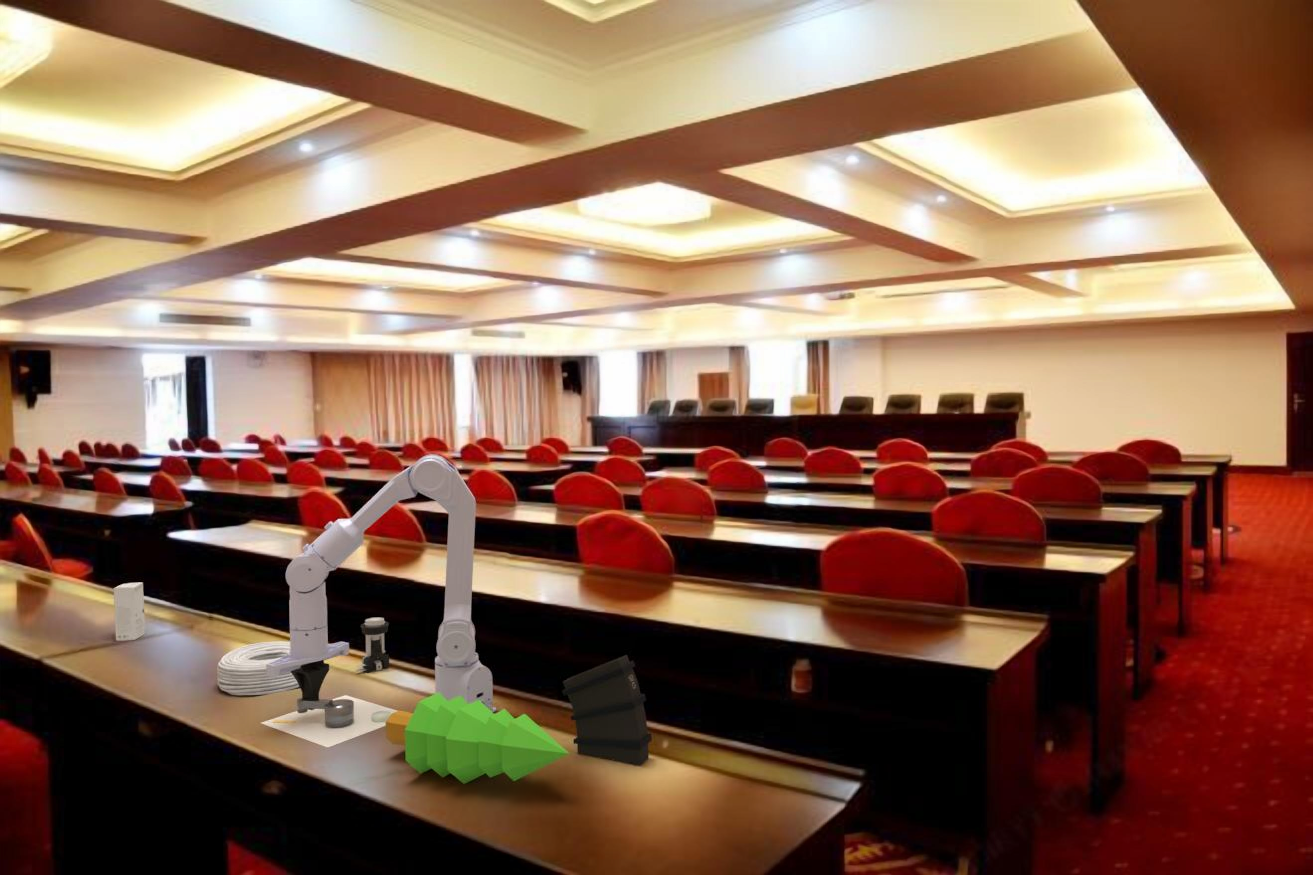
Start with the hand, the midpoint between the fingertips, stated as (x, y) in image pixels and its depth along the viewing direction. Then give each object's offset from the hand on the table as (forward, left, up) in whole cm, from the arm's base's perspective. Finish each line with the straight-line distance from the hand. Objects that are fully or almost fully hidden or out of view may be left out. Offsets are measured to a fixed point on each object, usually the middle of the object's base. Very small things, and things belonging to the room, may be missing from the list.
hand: (310, 708), depth 140 cm
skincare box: (+83, -9, -3) cm, 83 cm away
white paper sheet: (-4, -2, -3) cm, 5 cm away
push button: (+16, -24, -3) cm, 29 cm away
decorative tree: (-38, 0, -3) cm, 38 cm away
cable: (+26, -9, -3) cm, 28 cm away
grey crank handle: (-4, 0, -1) cm, 4 cm away
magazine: (-48, -17, -3) cm, 51 cm away
